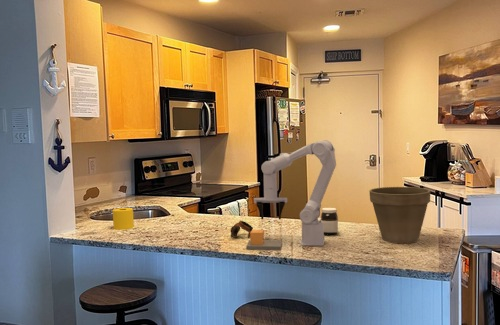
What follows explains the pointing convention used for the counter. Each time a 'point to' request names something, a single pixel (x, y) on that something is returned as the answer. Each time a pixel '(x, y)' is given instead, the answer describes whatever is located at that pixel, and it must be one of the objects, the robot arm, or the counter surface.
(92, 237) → the counter surface
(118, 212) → the yellow toilet paper roll
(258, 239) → the solid orange cube
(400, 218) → the plant pot
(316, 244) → the robot arm
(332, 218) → the spread jar
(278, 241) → the grey flat block
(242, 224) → the brown curved arch
